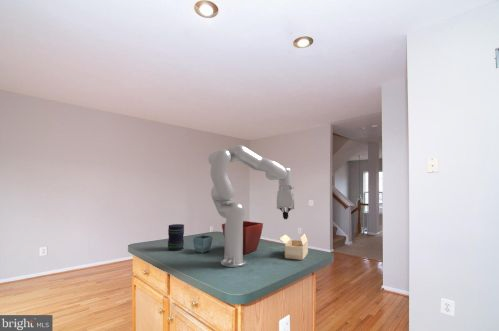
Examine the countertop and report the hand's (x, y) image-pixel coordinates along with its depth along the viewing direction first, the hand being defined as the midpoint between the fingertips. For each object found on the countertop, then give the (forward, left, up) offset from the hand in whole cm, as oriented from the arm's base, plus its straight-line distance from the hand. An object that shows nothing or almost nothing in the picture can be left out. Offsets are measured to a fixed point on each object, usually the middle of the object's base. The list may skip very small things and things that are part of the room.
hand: (285, 219), depth 146 cm
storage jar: (-17, +68, -21) cm, 73 cm away
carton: (0, -6, -21) cm, 21 cm away
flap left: (0, 0, -12) cm, 12 cm away
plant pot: (-4, +27, -21) cm, 34 cm away
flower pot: (-15, +49, -21) cm, 55 cm away
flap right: (0, -10, -11) cm, 15 cm away
